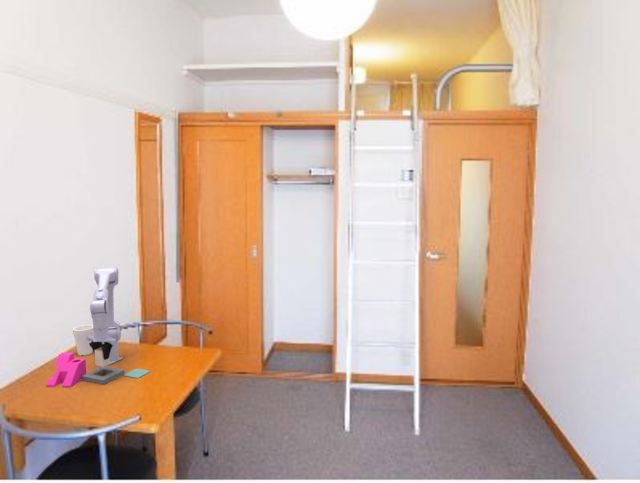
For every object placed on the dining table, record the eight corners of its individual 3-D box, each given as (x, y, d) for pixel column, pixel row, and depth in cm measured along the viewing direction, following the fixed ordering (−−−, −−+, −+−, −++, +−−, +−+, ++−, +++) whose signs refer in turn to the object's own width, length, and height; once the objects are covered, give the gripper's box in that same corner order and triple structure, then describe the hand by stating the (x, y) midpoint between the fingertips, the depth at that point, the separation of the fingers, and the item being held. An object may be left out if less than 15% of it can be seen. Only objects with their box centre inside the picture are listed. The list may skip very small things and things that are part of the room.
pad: (123, 376, 208) (123, 375, 208) (136, 369, 215) (136, 368, 215) (137, 378, 205) (137, 377, 205) (150, 371, 213) (150, 370, 213)
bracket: (64, 375, 209) (62, 352, 208) (86, 376, 209) (85, 353, 207) (46, 387, 197) (44, 363, 196) (70, 387, 197) (68, 363, 195)
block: (95, 365, 205) (94, 349, 204) (102, 362, 209) (101, 346, 208) (102, 366, 204) (101, 351, 203) (109, 363, 207) (108, 347, 206)
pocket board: (81, 380, 203) (81, 376, 203) (103, 370, 215) (103, 365, 214) (103, 384, 199) (103, 380, 199) (124, 373, 210) (124, 369, 210)
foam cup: (70, 354, 234) (68, 328, 232) (87, 348, 242) (86, 323, 240) (82, 358, 229) (80, 331, 228) (99, 352, 237) (98, 326, 235)
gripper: (80, 328, 203) (82, 359, 205) (106, 332, 198) (108, 363, 200) (93, 323, 209) (95, 353, 211) (119, 327, 204) (121, 357, 206)
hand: (102, 358), depth 206 cm, fingers closed on block, 4 cm apart
